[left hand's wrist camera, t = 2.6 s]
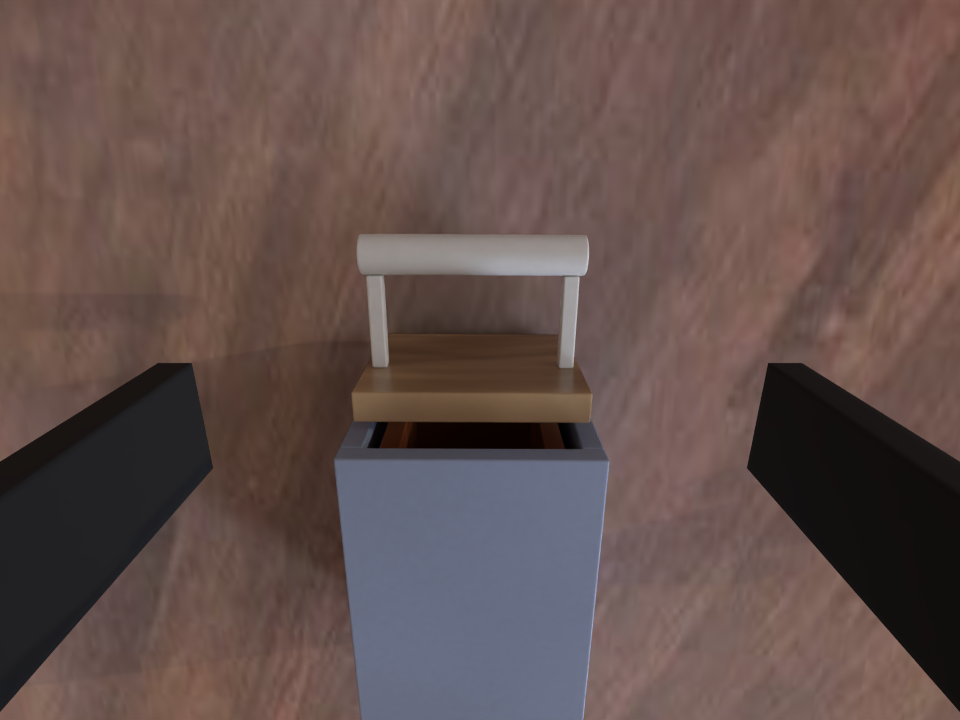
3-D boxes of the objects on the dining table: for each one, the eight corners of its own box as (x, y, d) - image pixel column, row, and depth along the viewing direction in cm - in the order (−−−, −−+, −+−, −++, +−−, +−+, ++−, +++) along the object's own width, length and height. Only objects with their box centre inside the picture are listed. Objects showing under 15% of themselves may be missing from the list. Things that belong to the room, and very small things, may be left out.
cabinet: (377, 368, 27) (332, 459, 19) (570, 369, 27) (610, 460, 19) (394, 615, 33) (365, 768, 25) (554, 616, 33) (578, 769, 25)
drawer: (377, 221, 24) (337, 244, 17) (571, 222, 24) (605, 245, 17) (399, 584, 31) (377, 698, 24) (548, 585, 31) (566, 699, 24)
